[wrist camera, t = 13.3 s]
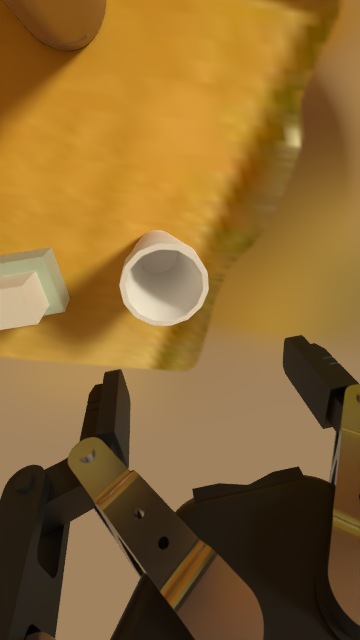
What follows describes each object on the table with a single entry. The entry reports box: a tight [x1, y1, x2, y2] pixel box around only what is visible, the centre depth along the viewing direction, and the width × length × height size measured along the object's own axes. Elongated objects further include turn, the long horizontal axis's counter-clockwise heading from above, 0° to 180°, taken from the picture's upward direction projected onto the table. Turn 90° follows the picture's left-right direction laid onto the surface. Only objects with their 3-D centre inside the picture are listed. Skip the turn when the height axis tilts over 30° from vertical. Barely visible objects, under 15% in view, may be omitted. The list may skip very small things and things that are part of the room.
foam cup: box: [119, 230, 209, 326], centre depth 36 cm, size 10×9×13 cm
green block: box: [0, 247, 70, 316], centre depth 39 cm, size 8×8×4 cm
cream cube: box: [0, 271, 49, 330], centre depth 35 cm, size 5×5×5 cm
